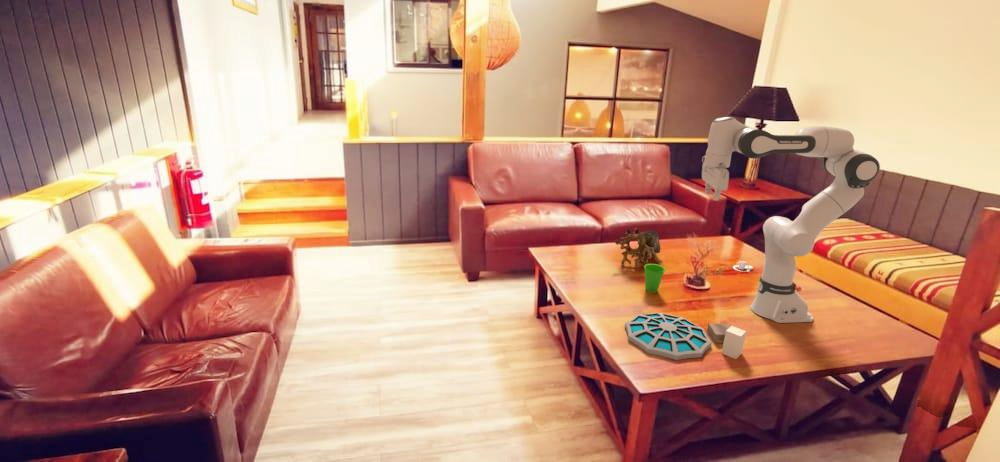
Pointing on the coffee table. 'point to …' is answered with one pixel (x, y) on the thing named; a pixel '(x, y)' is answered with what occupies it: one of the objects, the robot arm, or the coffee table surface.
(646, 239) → the decorative coral sculpture
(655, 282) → the cup
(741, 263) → the teacup and saucer
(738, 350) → the cream pillar block
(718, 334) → the walnut base block
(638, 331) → the decorative platform
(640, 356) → the coffee table surface
